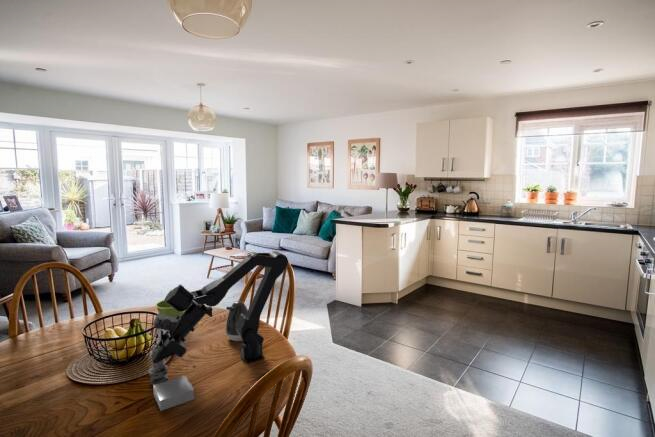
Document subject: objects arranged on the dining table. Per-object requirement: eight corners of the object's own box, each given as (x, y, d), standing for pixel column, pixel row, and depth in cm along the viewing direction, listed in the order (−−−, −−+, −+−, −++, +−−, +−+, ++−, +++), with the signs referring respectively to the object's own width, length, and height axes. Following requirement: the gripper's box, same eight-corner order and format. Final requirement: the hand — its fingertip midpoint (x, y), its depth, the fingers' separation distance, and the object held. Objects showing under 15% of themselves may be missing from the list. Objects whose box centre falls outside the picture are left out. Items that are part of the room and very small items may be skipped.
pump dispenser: (220, 339, 142) (218, 301, 140) (241, 330, 150) (241, 295, 148) (235, 347, 135) (234, 308, 134) (257, 338, 143) (256, 301, 142)
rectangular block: (185, 384, 111) (185, 375, 111) (194, 399, 104) (193, 389, 103) (153, 395, 106) (153, 385, 105) (160, 411, 98) (160, 400, 98)
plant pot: (167, 322, 158) (166, 297, 157) (192, 323, 156) (191, 298, 155) (150, 333, 146) (149, 307, 145) (177, 335, 145) (176, 308, 143)
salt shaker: (153, 375, 116) (151, 339, 115) (171, 374, 116) (170, 339, 115) (145, 385, 110) (143, 348, 109) (165, 385, 111) (163, 348, 109)
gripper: (166, 296, 121) (131, 334, 117) (172, 315, 104) (131, 360, 100) (192, 314, 125) (158, 351, 121) (201, 335, 109) (163, 379, 105)
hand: (153, 359), depth 112 cm, fingers closed on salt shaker, 4 cm apart
